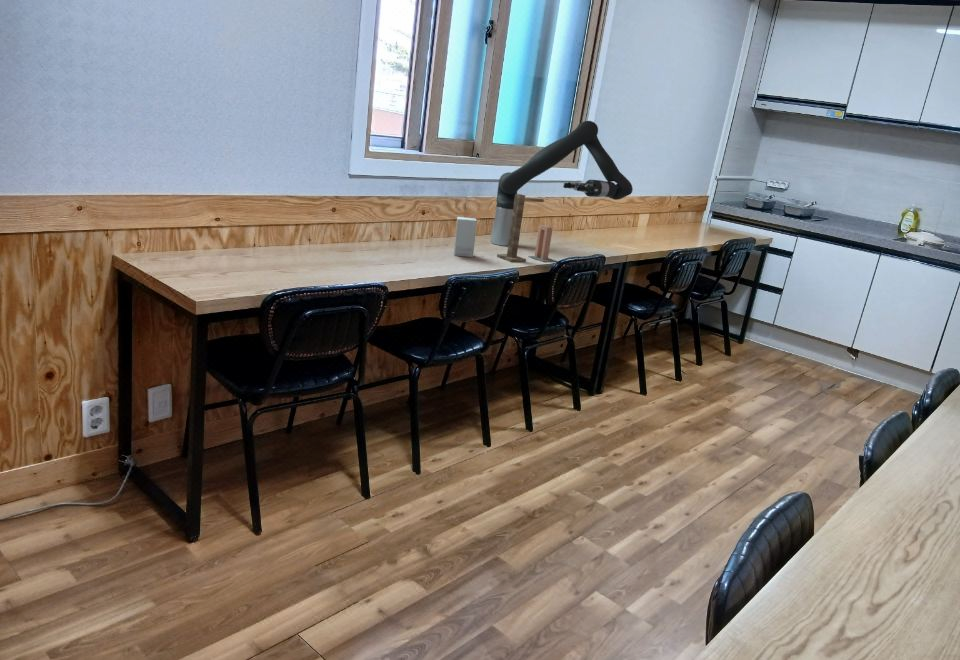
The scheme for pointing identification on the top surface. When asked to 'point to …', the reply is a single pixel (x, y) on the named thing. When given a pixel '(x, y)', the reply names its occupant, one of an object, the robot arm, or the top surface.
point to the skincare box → (465, 236)
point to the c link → (543, 241)
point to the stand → (516, 229)
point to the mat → (543, 259)
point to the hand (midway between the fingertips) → (570, 186)
